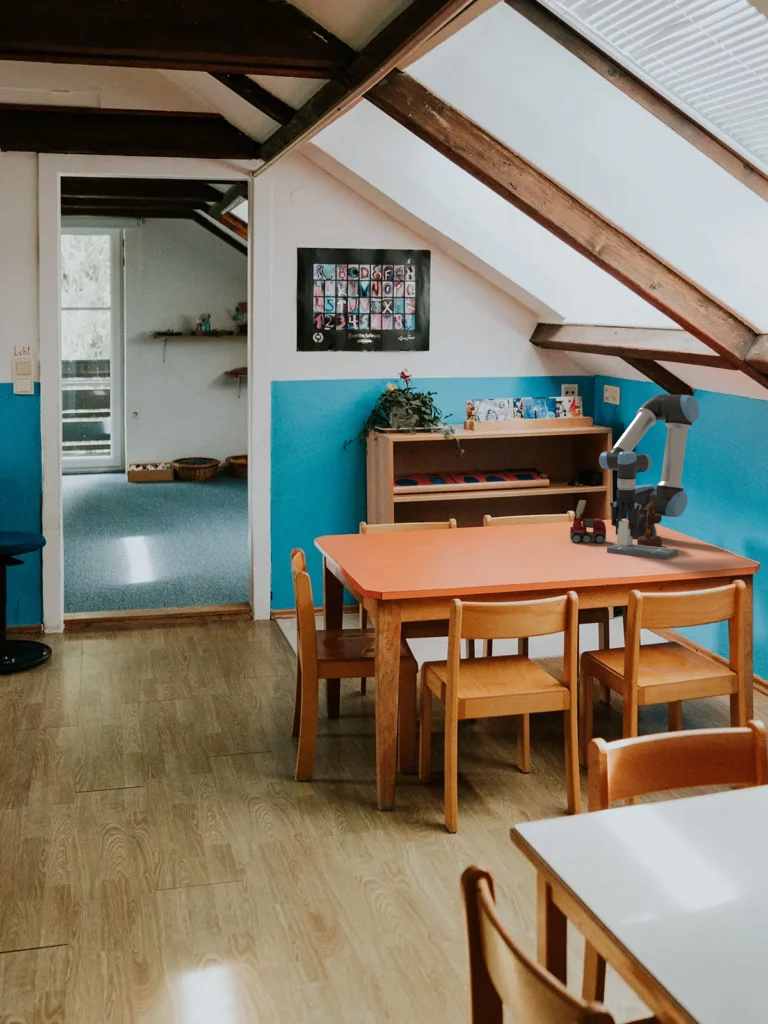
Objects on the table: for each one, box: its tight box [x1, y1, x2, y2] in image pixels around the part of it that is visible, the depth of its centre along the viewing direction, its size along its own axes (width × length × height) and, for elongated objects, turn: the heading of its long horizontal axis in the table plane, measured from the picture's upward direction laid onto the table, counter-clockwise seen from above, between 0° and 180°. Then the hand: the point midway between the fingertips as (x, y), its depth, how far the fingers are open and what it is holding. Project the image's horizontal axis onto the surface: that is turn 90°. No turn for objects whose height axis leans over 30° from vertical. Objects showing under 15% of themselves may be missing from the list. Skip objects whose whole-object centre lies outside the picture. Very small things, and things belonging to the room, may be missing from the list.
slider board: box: [606, 543, 679, 560], centre depth 467 cm, size 13×26×3 cm, turn 53°
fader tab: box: [616, 519, 634, 547], centre depth 470 cm, size 5×5×11 cm
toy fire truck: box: [569, 499, 607, 545], centre depth 493 cm, size 11×16×18 cm
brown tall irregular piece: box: [636, 501, 663, 548], centre depth 481 cm, size 15×11×20 cm
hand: (624, 543), depth 471 cm, fingers closed on fader tab, 4 cm apart
